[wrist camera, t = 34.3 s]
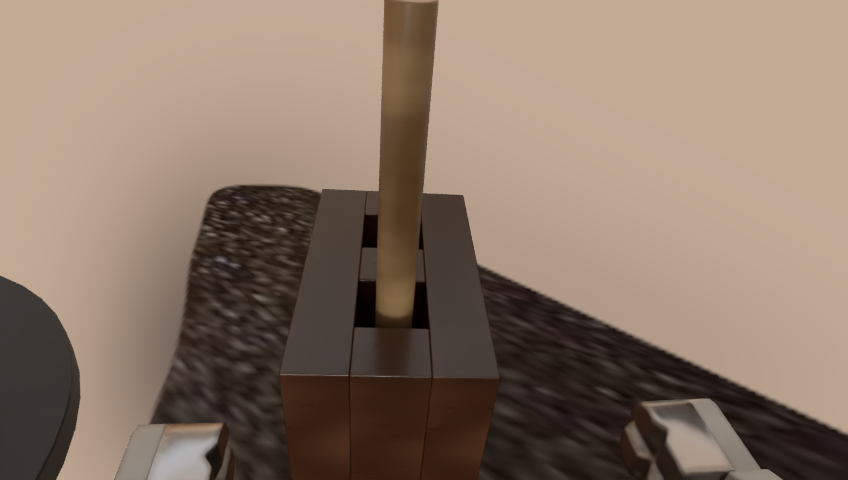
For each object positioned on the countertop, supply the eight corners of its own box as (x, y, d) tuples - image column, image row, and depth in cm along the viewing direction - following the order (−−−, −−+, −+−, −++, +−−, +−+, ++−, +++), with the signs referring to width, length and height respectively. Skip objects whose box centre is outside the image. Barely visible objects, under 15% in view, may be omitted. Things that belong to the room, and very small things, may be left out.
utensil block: (293, 498, 24) (278, 373, 19) (326, 297, 35) (322, 188, 30) (473, 498, 24) (500, 377, 20) (449, 300, 35) (463, 194, 31)
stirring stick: (371, 437, 26) (384, 0, 15) (372, 410, 28) (385, -10, 16) (403, 437, 26) (440, 4, 15) (403, 411, 28) (437, -7, 17)
